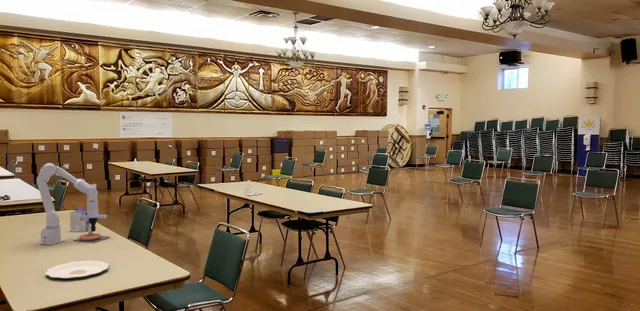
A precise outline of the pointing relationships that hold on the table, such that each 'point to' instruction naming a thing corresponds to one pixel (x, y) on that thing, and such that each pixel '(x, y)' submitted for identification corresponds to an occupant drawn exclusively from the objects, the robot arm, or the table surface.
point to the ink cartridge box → (78, 221)
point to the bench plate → (93, 240)
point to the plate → (65, 269)
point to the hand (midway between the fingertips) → (93, 231)
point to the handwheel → (89, 235)
